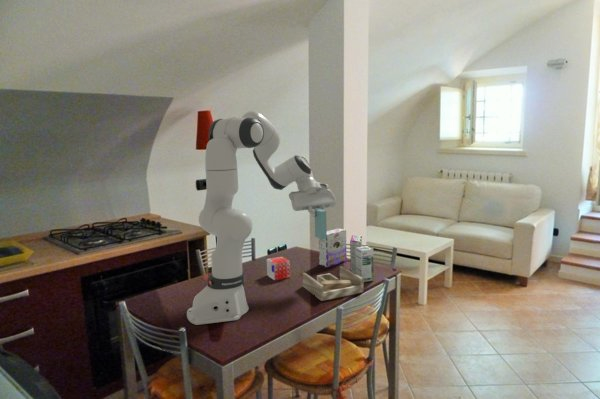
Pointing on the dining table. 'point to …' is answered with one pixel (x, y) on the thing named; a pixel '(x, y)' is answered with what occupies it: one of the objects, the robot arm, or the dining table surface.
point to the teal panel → (320, 224)
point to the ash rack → (345, 274)
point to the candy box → (333, 248)
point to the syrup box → (364, 263)
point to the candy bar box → (354, 250)
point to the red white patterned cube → (278, 268)
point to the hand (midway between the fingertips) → (319, 215)
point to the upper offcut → (336, 284)
